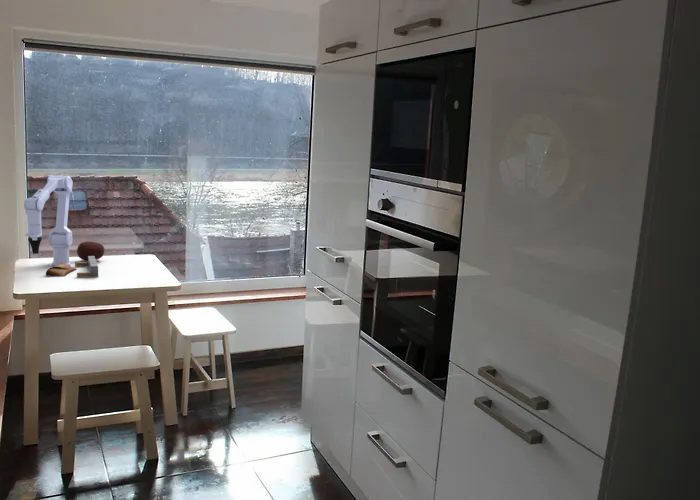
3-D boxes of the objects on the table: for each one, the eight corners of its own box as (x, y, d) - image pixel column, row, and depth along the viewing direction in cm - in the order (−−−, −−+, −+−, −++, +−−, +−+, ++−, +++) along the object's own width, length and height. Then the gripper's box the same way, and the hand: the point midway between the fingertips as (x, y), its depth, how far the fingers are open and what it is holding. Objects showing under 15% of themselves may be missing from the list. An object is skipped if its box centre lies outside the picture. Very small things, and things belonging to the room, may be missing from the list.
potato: (104, 262, 324) (104, 243, 323) (76, 263, 319) (76, 243, 318) (104, 258, 334) (104, 239, 333) (77, 259, 330) (76, 239, 328)
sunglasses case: (64, 276, 289) (56, 264, 288) (51, 284, 289) (43, 271, 288) (78, 269, 307) (70, 257, 305) (65, 275, 307) (57, 264, 305)
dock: (75, 266, 312) (74, 256, 312) (94, 265, 316) (94, 255, 315) (77, 277, 288) (76, 267, 288) (98, 276, 292) (98, 266, 291)
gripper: (25, 222, 294) (26, 250, 296) (24, 226, 281) (25, 256, 283) (42, 222, 297) (43, 250, 299) (41, 226, 284) (42, 256, 286)
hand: (35, 253), depth 292 cm, fingers closed
